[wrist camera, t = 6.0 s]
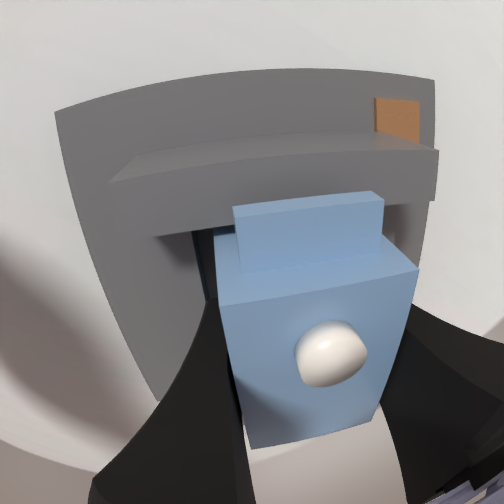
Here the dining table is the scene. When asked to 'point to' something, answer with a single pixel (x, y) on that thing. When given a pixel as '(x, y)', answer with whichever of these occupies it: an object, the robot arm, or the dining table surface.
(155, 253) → the board
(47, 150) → the dining table surface
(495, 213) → the dining table surface
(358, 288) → the block
